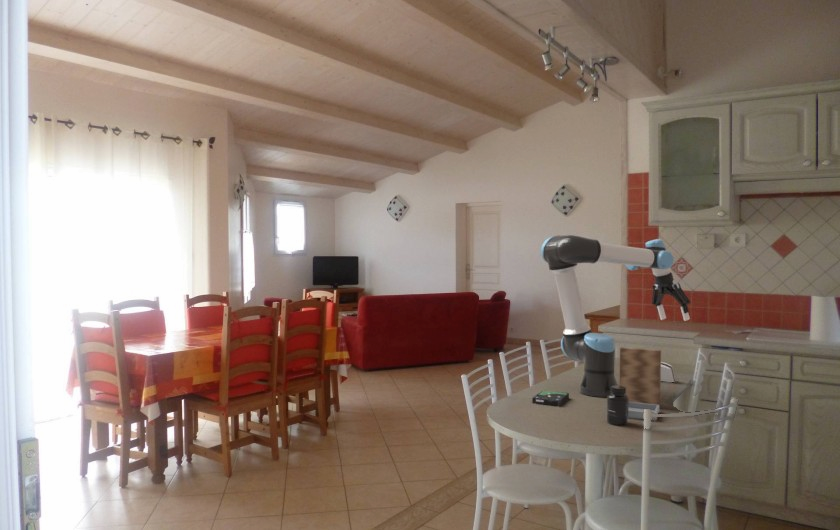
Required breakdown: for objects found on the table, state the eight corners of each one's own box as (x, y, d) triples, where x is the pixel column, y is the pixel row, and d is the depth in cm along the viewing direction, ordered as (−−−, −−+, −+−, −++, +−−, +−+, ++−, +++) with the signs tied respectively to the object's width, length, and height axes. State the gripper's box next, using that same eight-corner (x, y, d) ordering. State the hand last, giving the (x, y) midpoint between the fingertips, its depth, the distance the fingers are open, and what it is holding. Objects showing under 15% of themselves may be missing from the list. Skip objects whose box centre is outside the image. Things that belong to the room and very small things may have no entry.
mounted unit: (619, 404, 226) (620, 348, 225) (621, 401, 231) (622, 346, 231) (659, 408, 220) (660, 351, 219) (660, 405, 225) (661, 348, 224)
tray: (613, 416, 209) (613, 409, 209) (619, 407, 221) (619, 400, 221) (656, 421, 203) (656, 413, 203) (659, 412, 215) (659, 405, 215)
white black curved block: (676, 381, 269) (675, 361, 266) (674, 386, 265) (672, 366, 262) (638, 376, 278) (636, 356, 276) (635, 381, 275) (633, 361, 272)
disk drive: (559, 408, 221) (569, 399, 235) (559, 400, 221) (569, 392, 235) (531, 405, 226) (542, 396, 239) (532, 397, 226) (542, 389, 239)
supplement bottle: (605, 424, 199) (606, 388, 198) (607, 419, 205) (607, 384, 205) (627, 426, 196) (628, 390, 196) (628, 421, 203) (629, 385, 202)
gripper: (691, 270, 258) (703, 317, 259) (648, 272, 281) (660, 316, 282) (678, 275, 255) (691, 323, 257) (636, 277, 278) (648, 321, 280)
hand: (675, 319), depth 269 cm, fingers open, 13 cm apart
